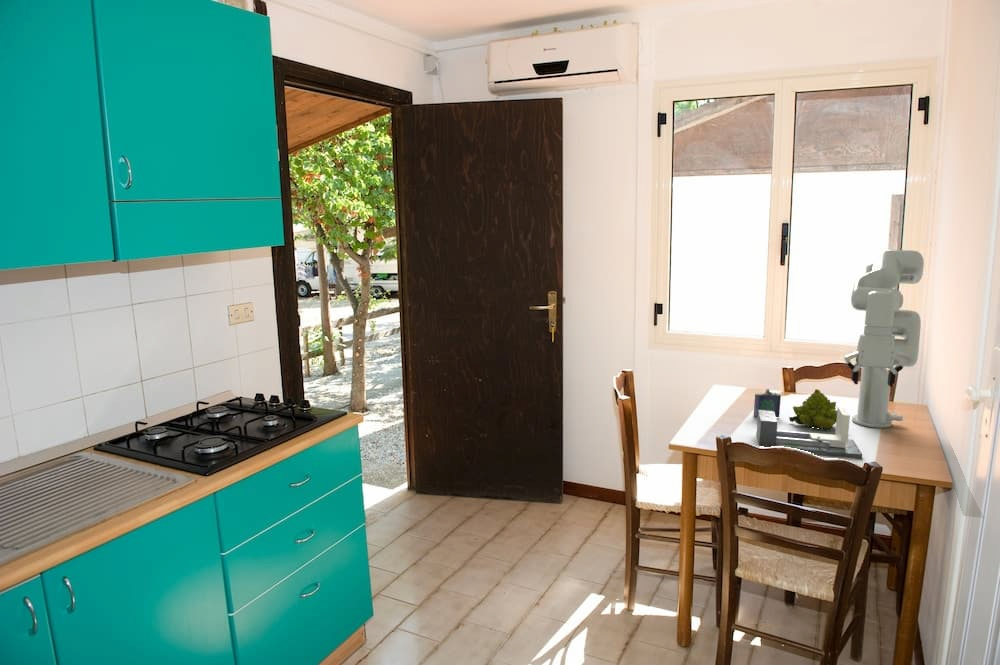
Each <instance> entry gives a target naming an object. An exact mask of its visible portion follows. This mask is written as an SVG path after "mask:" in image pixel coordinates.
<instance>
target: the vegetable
mask: <svg viewBox="0 0 1000 665" xmlns="http://www.w3.org/2000/svg"><path fill="white" fill-rule="evenodd" d="M801 403H802V405H800V406H797V405H796V406H795V405H794V406H792V409H793V412H794V414H795V416H793V417H792V416H791V417H788V419H789V422H795V424H797V425H802V426H806V425H807V426H806V428H807V429H809V428H811V429H813V428H812V427H814V429H815V428H819V429H818V430H824V429H825V430H824V431H828V430H829V431H828V432H830V431H831V430H833V426H834V425H836V419H837V408H836V406H837V402H836V401H831V400H830V399H829V398H828V396H826V395H825V394H824V393H823V392H821V390H820V389H816V388H815V389H814V391H813V393H811V394H810V396H808V397H807V398H806V399H805V400H803V402H801Z"/></svg>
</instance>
